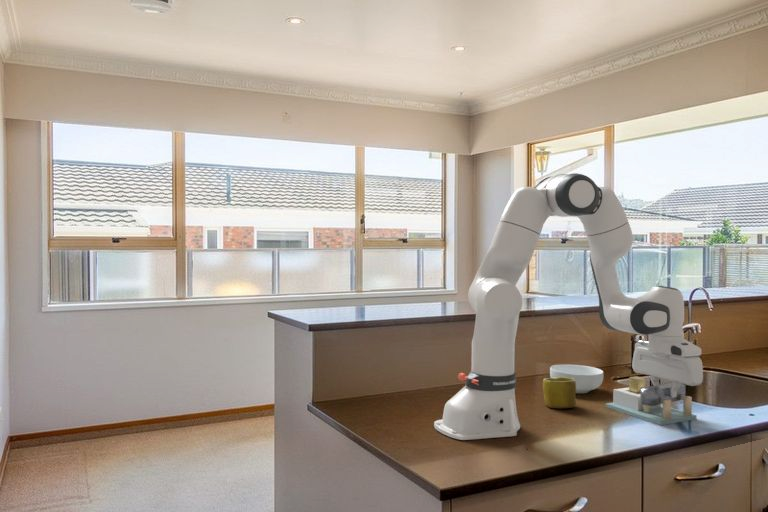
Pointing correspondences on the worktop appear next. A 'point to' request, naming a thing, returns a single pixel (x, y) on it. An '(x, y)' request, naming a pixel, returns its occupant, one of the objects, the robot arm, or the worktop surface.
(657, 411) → the jig plate
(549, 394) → the mug
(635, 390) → the wooden bar
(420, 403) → the worktop surface
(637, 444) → the worktop surface
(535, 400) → the worktop surface
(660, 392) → the grey lever handle
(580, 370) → the cereal bowl
